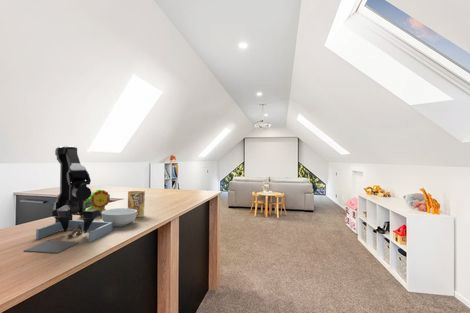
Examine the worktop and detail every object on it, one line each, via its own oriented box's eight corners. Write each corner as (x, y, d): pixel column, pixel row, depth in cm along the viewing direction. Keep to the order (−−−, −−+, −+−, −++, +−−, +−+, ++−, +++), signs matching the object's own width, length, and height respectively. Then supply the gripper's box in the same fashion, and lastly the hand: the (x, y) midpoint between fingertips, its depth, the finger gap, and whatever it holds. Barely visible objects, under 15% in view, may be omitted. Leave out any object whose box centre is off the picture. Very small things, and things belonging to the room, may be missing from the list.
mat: (23, 251, 88) (23, 250, 88) (48, 241, 99) (48, 240, 99) (57, 253, 87) (57, 252, 87) (79, 243, 98) (79, 242, 98)
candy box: (144, 215, 148) (145, 190, 148) (143, 217, 144) (144, 191, 144) (128, 215, 146) (129, 190, 147) (127, 217, 142) (128, 191, 142)
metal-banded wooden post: (85, 230, 113) (83, 222, 111) (73, 242, 106) (71, 234, 104) (81, 230, 113) (79, 222, 111) (69, 242, 106) (67, 234, 104)
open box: (35, 238, 102) (36, 229, 102) (65, 228, 118) (65, 219, 118) (90, 241, 100) (91, 232, 100) (112, 230, 116) (113, 222, 116)
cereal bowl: (122, 230, 117) (123, 215, 117) (93, 227, 121) (93, 213, 121) (142, 221, 134) (143, 209, 134) (116, 219, 137) (116, 206, 137)
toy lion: (82, 218, 137) (83, 191, 137) (78, 217, 140) (79, 190, 140) (110, 214, 150) (111, 189, 150) (106, 212, 153) (107, 188, 153)
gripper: (41, 199, 101) (39, 237, 101) (84, 201, 100) (82, 239, 99) (62, 195, 112) (60, 229, 112) (101, 197, 111) (99, 231, 110)
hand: (75, 232), depth 108 cm, fingers open, 9 cm apart
